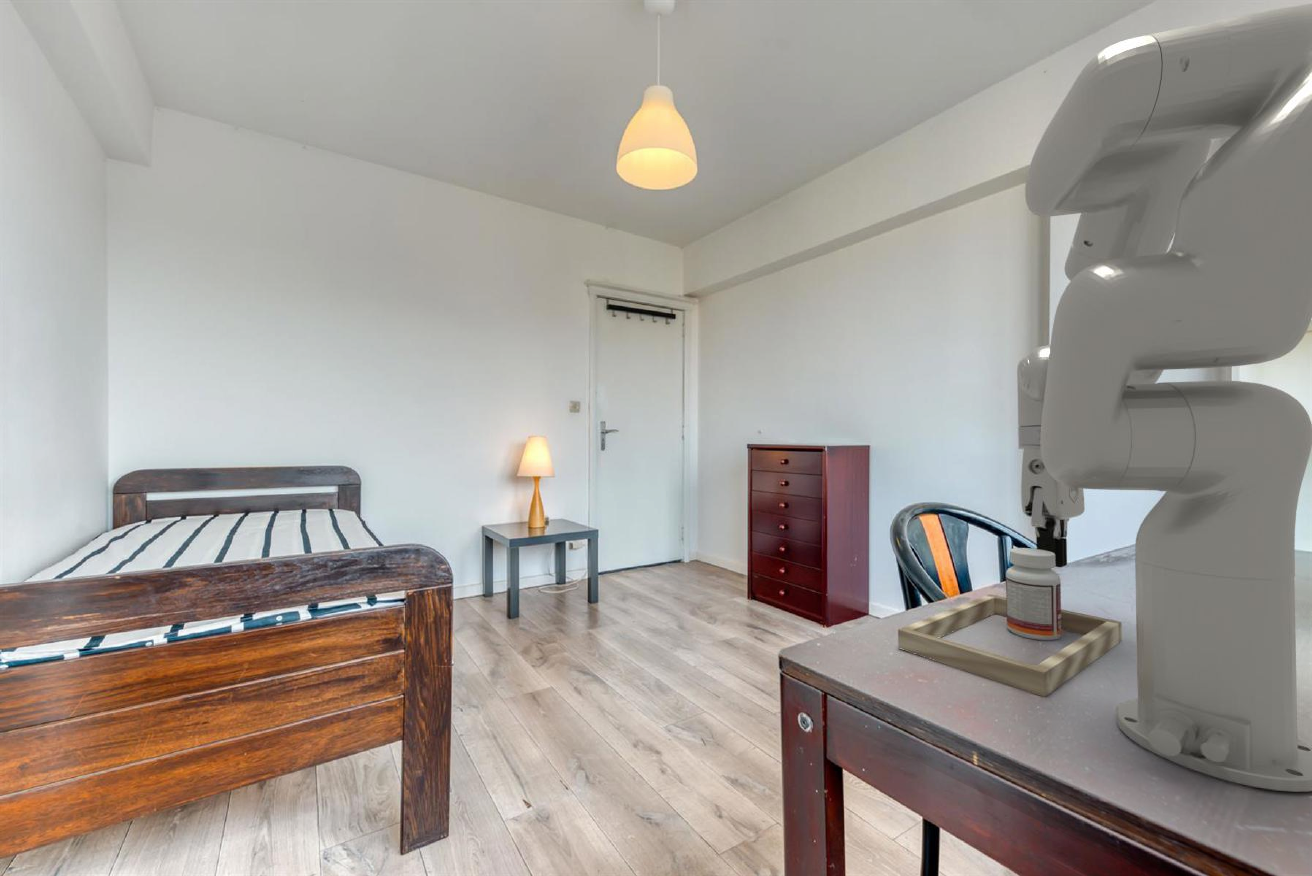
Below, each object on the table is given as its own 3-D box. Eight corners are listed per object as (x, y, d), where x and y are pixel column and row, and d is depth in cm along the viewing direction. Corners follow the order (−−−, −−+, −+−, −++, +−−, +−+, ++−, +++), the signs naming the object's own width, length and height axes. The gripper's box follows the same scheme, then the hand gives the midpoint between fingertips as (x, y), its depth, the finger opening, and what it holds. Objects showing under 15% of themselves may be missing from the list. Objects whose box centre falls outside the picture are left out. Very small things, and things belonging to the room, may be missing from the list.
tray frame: (1044, 696, 55) (1044, 672, 55) (898, 648, 68) (898, 629, 68) (1121, 640, 70) (1121, 621, 70) (989, 610, 83) (989, 594, 83)
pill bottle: (1031, 624, 77) (1030, 545, 77) (1073, 639, 71) (1071, 554, 71) (995, 627, 76) (994, 548, 76) (1035, 643, 70) (1034, 557, 70)
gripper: (1060, 438, 70) (1063, 578, 70) (1099, 438, 79) (1101, 562, 78) (998, 439, 76) (1000, 567, 76) (1040, 439, 85) (1042, 554, 84)
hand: (1051, 564), depth 77 cm, fingers closed
